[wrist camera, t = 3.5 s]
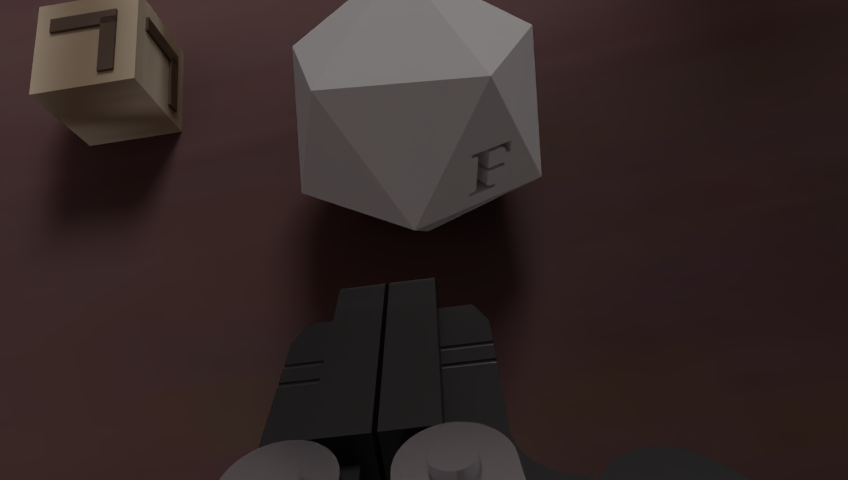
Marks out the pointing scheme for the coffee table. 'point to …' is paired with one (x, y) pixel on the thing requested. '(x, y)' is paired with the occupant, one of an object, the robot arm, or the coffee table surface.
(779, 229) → the coffee table surface
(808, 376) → the coffee table surface
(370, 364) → the robot arm
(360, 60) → the die
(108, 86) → the letter block
